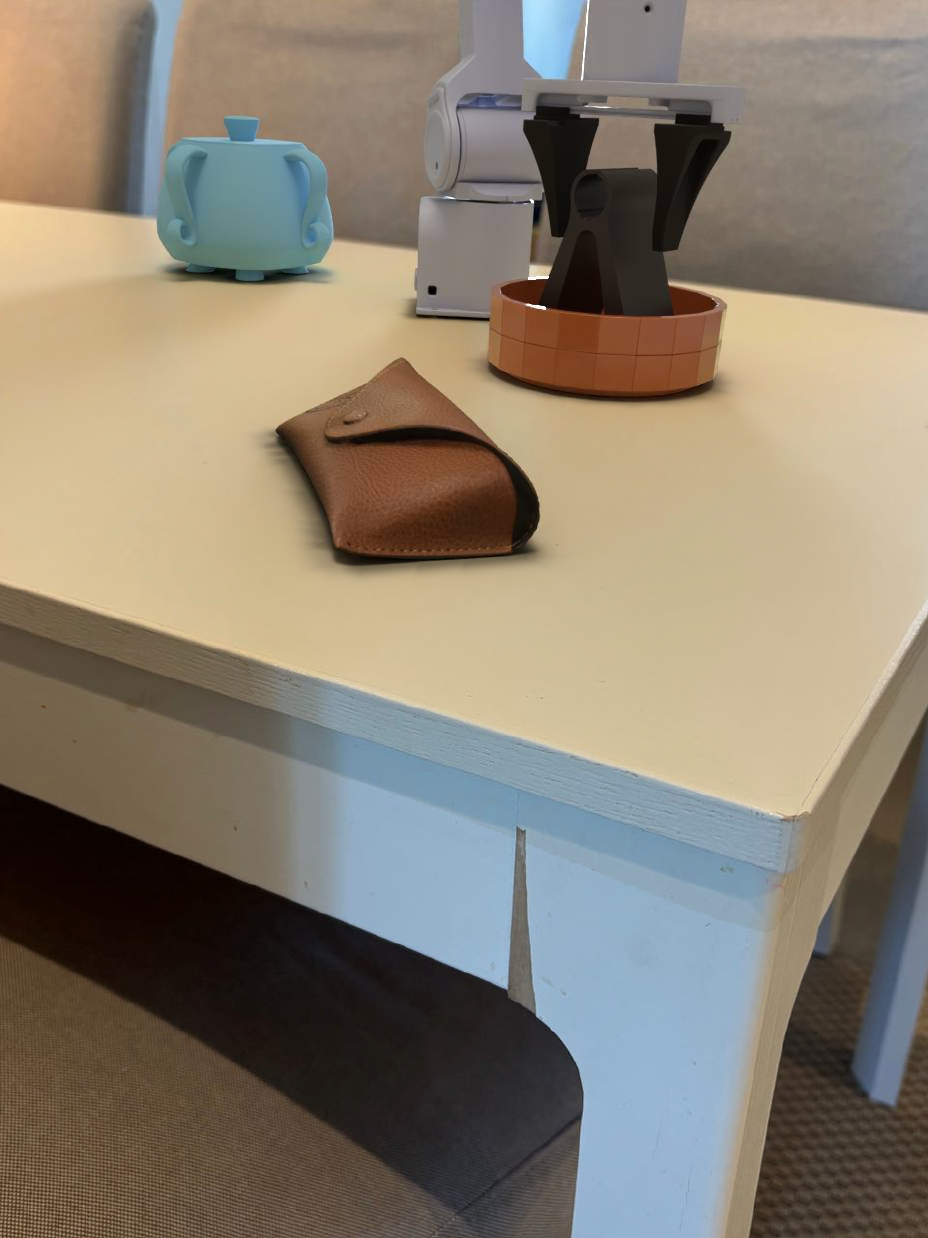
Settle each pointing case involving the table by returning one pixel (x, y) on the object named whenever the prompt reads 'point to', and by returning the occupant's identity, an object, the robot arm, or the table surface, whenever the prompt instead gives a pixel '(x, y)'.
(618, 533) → the table surface
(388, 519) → the sunglasses case
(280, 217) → the decorative pot
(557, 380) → the bowl
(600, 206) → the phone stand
